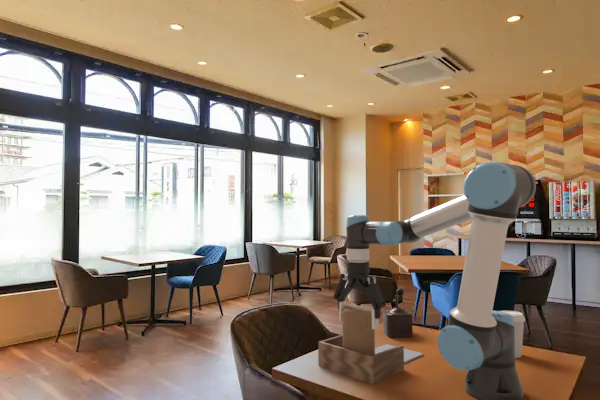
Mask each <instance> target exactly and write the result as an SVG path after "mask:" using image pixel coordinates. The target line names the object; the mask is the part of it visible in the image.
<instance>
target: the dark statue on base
mask: <svg viewBox="0 0 600 400" xmlns="http://www.w3.org/2000/svg"><path fill="white" fill-rule="evenodd" d="M405 292H406V291H405V289H403V288H401V287H400V288H397V289H396V290H395V293H396V295H395V296H394V297H395V298H393V299H392V302H395V307H392V308H389V309H383V310H382V322H383V333H384V334H385V335H386V336H387V337H388V338H391V339H392V338H398V339H399V338H413V337H414V335H413V333H414V330H413V315H412V313H411V312H409V310H407V309H406V306H404V307H400V306H399V301H402V300H404V299H405V297H404V294H405Z"/></svg>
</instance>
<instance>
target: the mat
mask: <svg viewBox="0 0 600 400" xmlns="http://www.w3.org/2000/svg"><path fill="white" fill-rule="evenodd" d="M396 346H397V345H396ZM396 346H395V345H391V344H387V343H386V344H383V345H381V346H377V347H375V354H378V353H380V352H383V351H385V350H388V349H391V348H393V347H396ZM422 356H424V353H422V352H419V351H414V350H412V349H407V348H404V365H405V364H406V363H409V362H411V361H413V360H416V359H418V358H420V357H422Z"/></svg>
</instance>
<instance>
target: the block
mask: <svg viewBox="0 0 600 400" xmlns="http://www.w3.org/2000/svg"><path fill="white" fill-rule="evenodd" d="M372 308H374V307H373V305H350V304H346V307H345V309H344V311H343V313H342V321H341V322H342V335H343V348H345V349H349V350H352V351H356V352H359V353H363V354H366V355H369V356H372V355H375V348H376V342H375V341H376V340H375V336H376V335H375V332H376V331H375V330H376V329H372Z"/></svg>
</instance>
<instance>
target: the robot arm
mask: <svg viewBox="0 0 600 400" xmlns="http://www.w3.org/2000/svg"><path fill="white" fill-rule="evenodd" d="M536 189H537V183H536V180H535V177H534V175H533V174H532V173H531V172H530V171H529V169H527V168H525V167H523V166H520V165H516V164H509V163H505V162H500V161H489V162H484V163H483V162H482V163H481V164H477V165H476V166H475V167H474V168H472V169H471V170H470V171H469V172H468V174H467V175H466V177H465V178H464V182H463V195H461V196H458V197H455V198H454V199H451V200H449V201H446V202H445V203H442V204H440V205H436V206H435V207H432V208H430V209H427V210H425V211H423V212H421V213H418V214H415V215H413V216H411V217H409V218H406V219H403V220H389V221H388V220H385V221H377V220H376V221H370V216H369V215H367V214H366V215H365V214H364V215H363V214H356V215H354V214H351V215H348V216H347V217H346V226H345V229H346V260H347V262H346V272H343V273H340V277H339V278H340V279H339V281H338V284H337V287H336V289H335V291H334V294H333V299H334V300H336V301H337V309H338V312H339V314H338V315H339V321H338V322H343V321H342V313H343V311H344V309H345V307H346V306H347V300H346V299H347V297H348V296H349V294H350V293H351V292H352V290H353V289H354V290H360V291H362V292H363V293H364V294H365V296H366V297H367V299H368V301H369V302H370V303H371V306H372V307H374V308H372V329H375V330H378V329H379V328H380V319H381V309H382V308H385V307H386V306H387V303H386V301H385V299H384V296H383V294H382V292H381V288H380V286H379V283H378V278H377V277H376V276H373V277H372V276H371V277H370V276H369V274H370V262H369V261H370V245H378V246H386V247H389V246H397V245H398V244H412V243H416V242H419V241H420V240H421V239H422V238H424V237H427V236H430V235H432V234H435V233H438V232H441V231H445V230H447V229H449V228H452V227H454V226H458V225H460V224H463V223H465V222H468V221H471V225H470V229H469V236H468V241H467V247H466V252H465V257H464V258H465V259H464V265H463V270H462V275H461V281H460V288H459V291H458V292H459V293H458V298H457V304H456V306H455V307H453V308H451V309H450V311H449V315H448V320H447V325H446V326H444V327H443V328H441V330H440V331H439V333H438V335H437V340H436V341H437V346H438V351H439V353H440V354H441V355H442V357H443V359H444V360H445V362H447V364H448V365H449V366H452V368H455V369H456V370H459V371H463V372H464V371H466V372H467V373H466V377H465V379H464V390H465V391H466V393H468V395H470V396H472V397H474V398H476V399H478V400H523V399H524V387H523V385H522V382H521V379H520V376H519V373H518V371H517V368H516V358H515V329H514V328H515V325H514V319H513V316H512V315H511V314H509V313H505V312H500V311H501V310H493V309H494V303H495V298H496V294H497V289H498V283H499V276H500V272H501V266H502V263H503V262H502V261H503V255H504V251H505V245H506V240H507V235H508V229H509V225H510V224H512V223H514V222H515V221H517V219H518V218H517V217H518V213H519V208H521V207H524V206H526V205H527V204H529V203H530V201H531V200H532V199H533V198H534V196H535V194H536V191H537V190H536Z"/></svg>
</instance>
